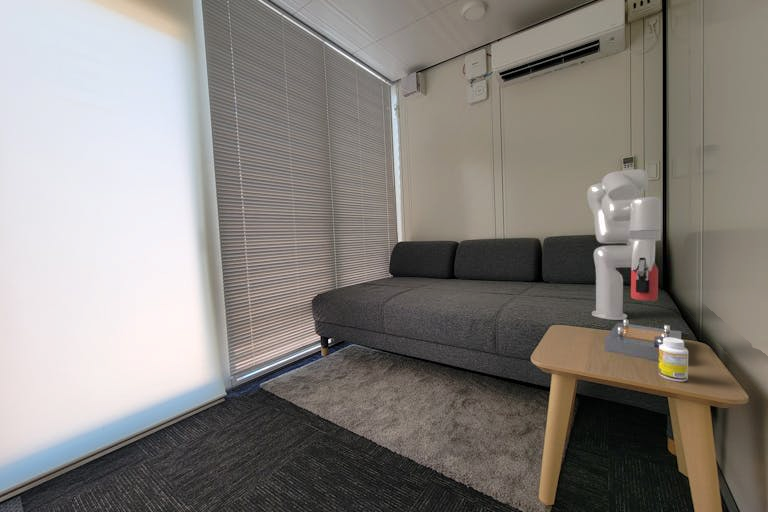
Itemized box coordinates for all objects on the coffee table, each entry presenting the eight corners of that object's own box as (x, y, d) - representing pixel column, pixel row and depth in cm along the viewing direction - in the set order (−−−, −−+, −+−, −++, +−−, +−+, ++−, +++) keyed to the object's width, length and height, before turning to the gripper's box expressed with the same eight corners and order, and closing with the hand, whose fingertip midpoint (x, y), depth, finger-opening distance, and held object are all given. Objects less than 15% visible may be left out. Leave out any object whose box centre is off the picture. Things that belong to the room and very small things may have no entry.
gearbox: (618, 330, 114) (619, 313, 114) (681, 340, 102) (681, 321, 101) (604, 350, 97) (604, 329, 97) (677, 365, 85) (677, 341, 84)
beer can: (647, 297, 100) (647, 261, 100) (663, 301, 94) (664, 263, 93) (626, 297, 101) (626, 262, 100) (640, 302, 95) (641, 264, 94)
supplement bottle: (665, 370, 82) (665, 334, 81) (692, 379, 77) (693, 341, 76) (653, 375, 80) (654, 338, 79) (681, 384, 75) (682, 345, 74)
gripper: (633, 235, 105) (633, 285, 106) (625, 237, 93) (624, 293, 94) (663, 234, 99) (661, 287, 100) (657, 236, 87) (656, 296, 89)
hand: (643, 290), depth 97 cm, fingers closed on beer can, 6 cm apart
